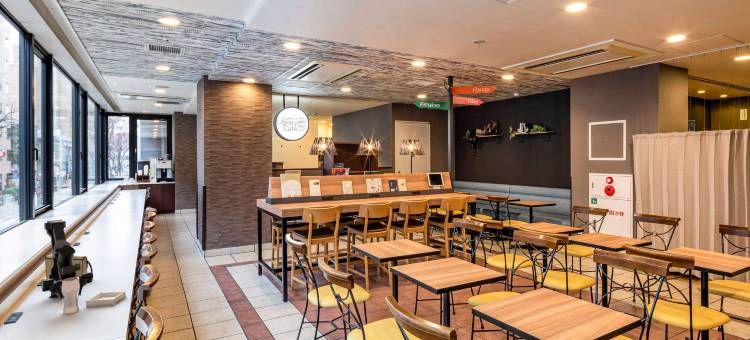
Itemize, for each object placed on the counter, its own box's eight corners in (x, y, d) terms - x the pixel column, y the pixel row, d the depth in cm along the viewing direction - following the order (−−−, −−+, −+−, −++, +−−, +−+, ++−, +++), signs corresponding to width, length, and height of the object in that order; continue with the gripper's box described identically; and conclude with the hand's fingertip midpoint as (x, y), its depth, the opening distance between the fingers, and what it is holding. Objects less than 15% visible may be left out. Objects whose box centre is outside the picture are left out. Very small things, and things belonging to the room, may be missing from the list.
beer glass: (70, 315, 181) (69, 281, 181) (57, 314, 182) (56, 281, 182) (84, 309, 188) (83, 277, 188) (72, 308, 189) (70, 276, 189)
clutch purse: (96, 279, 237) (95, 253, 237) (86, 283, 230) (84, 256, 230) (54, 277, 243) (53, 252, 242) (42, 281, 236) (41, 255, 236)
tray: (86, 307, 191) (85, 300, 191) (100, 298, 203) (99, 292, 203) (113, 305, 192) (113, 299, 192) (125, 296, 204) (125, 291, 204)
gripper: (41, 262, 181) (46, 292, 173) (91, 254, 194) (97, 282, 186) (40, 276, 186) (44, 306, 179) (88, 268, 200) (94, 295, 192)
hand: (71, 297), depth 184 cm, fingers closed on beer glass, 6 cm apart
